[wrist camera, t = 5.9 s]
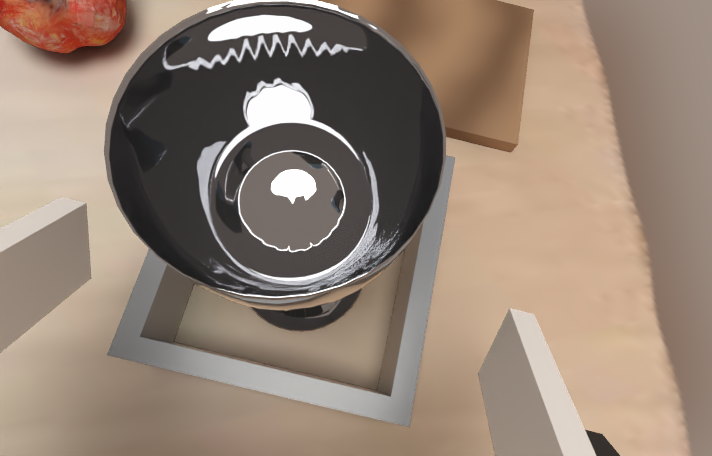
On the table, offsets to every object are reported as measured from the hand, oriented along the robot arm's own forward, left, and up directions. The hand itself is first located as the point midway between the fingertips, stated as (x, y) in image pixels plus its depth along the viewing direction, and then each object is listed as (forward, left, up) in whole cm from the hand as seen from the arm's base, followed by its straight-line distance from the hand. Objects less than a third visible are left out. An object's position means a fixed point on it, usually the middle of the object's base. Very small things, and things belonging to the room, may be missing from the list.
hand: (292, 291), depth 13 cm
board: (0, +19, -11) cm, 22 cm away
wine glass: (-1, +3, -11) cm, 11 cm away
